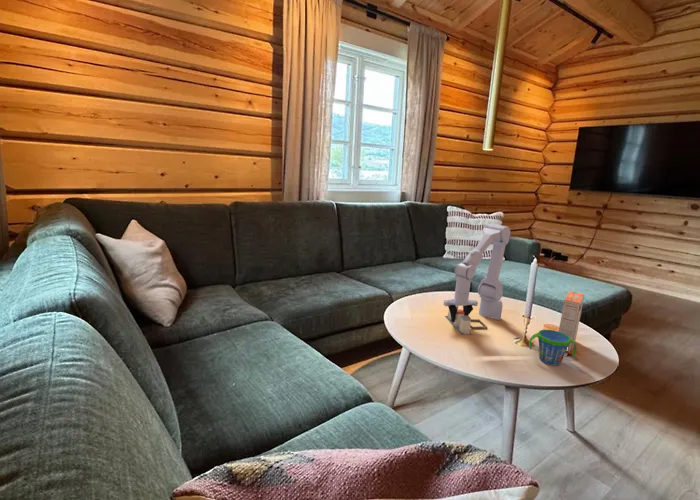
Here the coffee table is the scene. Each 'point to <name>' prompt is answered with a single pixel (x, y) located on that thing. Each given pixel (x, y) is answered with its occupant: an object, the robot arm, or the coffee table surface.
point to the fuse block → (459, 327)
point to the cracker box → (571, 316)
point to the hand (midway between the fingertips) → (458, 321)
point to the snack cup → (552, 346)
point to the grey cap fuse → (450, 314)
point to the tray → (479, 322)
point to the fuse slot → (465, 323)
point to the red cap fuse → (458, 316)
